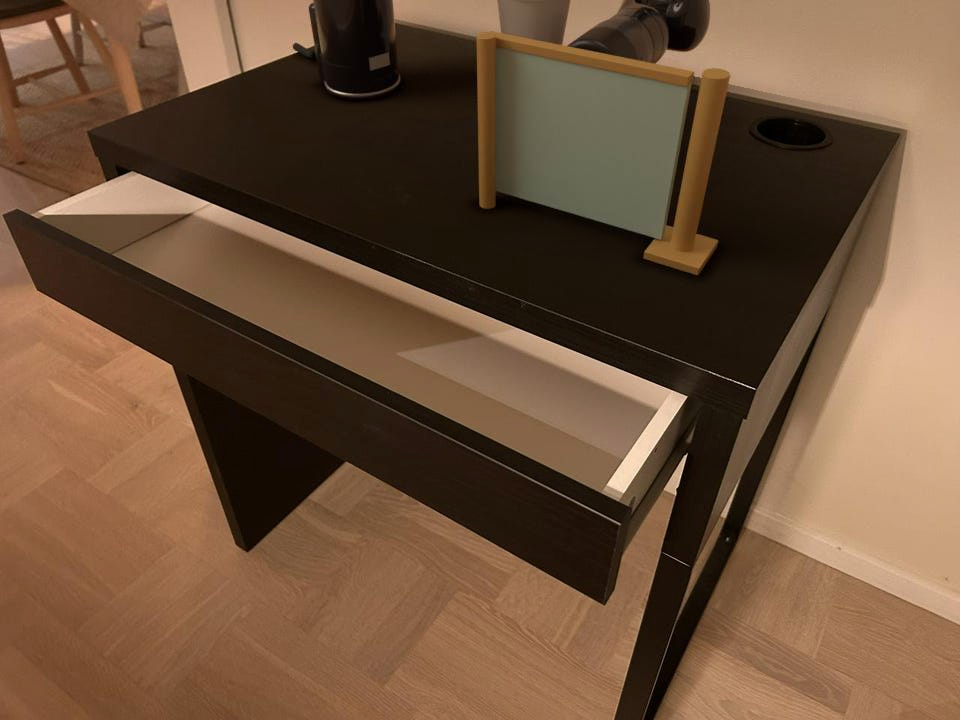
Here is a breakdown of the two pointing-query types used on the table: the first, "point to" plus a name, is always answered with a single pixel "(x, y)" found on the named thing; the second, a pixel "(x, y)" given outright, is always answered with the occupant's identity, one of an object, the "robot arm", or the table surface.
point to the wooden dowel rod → (486, 118)
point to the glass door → (589, 131)
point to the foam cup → (534, 19)
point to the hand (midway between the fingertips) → (526, 125)
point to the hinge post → (694, 183)
